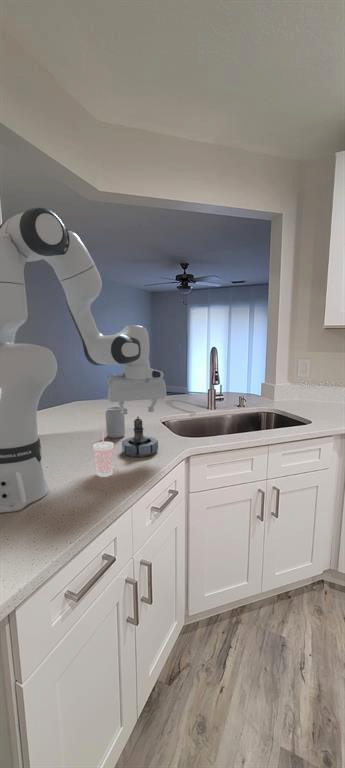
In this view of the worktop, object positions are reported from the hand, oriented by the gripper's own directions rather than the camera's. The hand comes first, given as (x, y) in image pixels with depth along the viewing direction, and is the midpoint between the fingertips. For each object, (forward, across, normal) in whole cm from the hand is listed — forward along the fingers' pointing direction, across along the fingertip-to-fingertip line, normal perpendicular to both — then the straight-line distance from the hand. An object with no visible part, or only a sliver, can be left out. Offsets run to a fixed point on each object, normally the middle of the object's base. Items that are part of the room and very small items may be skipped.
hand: (138, 412), depth 118 cm
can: (+14, -4, +24) cm, 28 cm away
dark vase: (+14, 0, 0) cm, 14 cm away
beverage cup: (+15, -14, -14) cm, 25 cm away
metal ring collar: (+14, +1, +1) cm, 14 cm away
